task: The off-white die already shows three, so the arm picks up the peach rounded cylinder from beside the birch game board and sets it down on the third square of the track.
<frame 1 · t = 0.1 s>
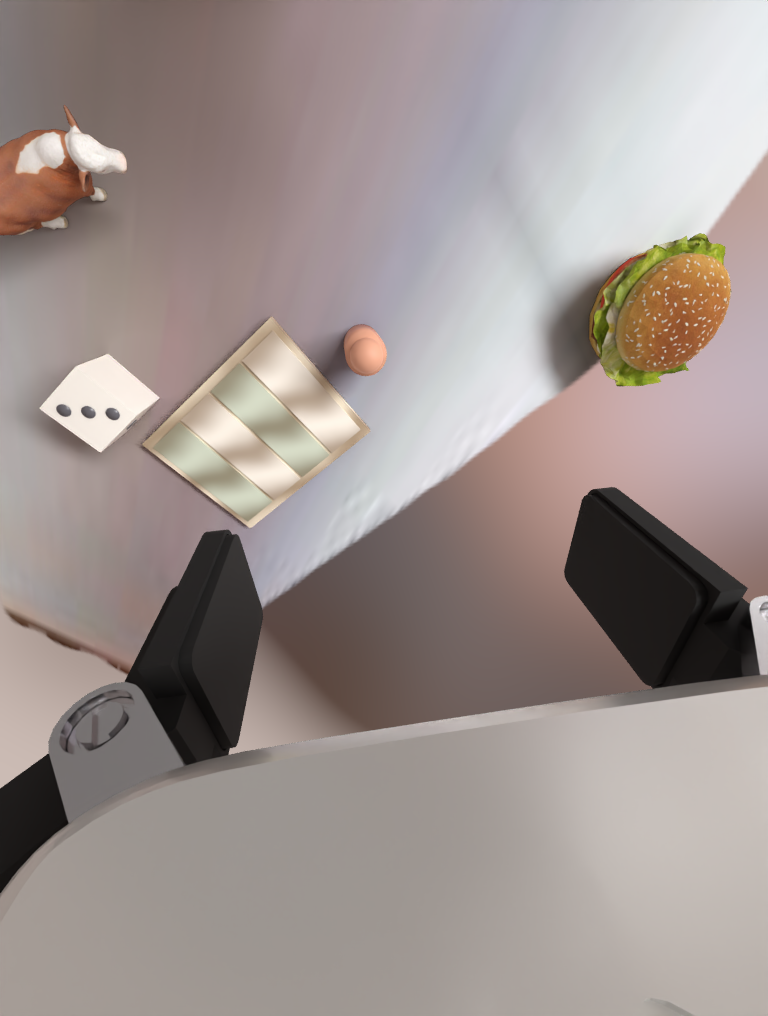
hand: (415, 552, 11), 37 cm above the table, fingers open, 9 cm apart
food: (630, 313, 44), on the table
peach rounded cylinder: (362, 344, 42), on the table
die: (118, 394, 42), on the table
game board: (260, 434, 46), on the table
bull figurine: (79, 190, 33), on the table
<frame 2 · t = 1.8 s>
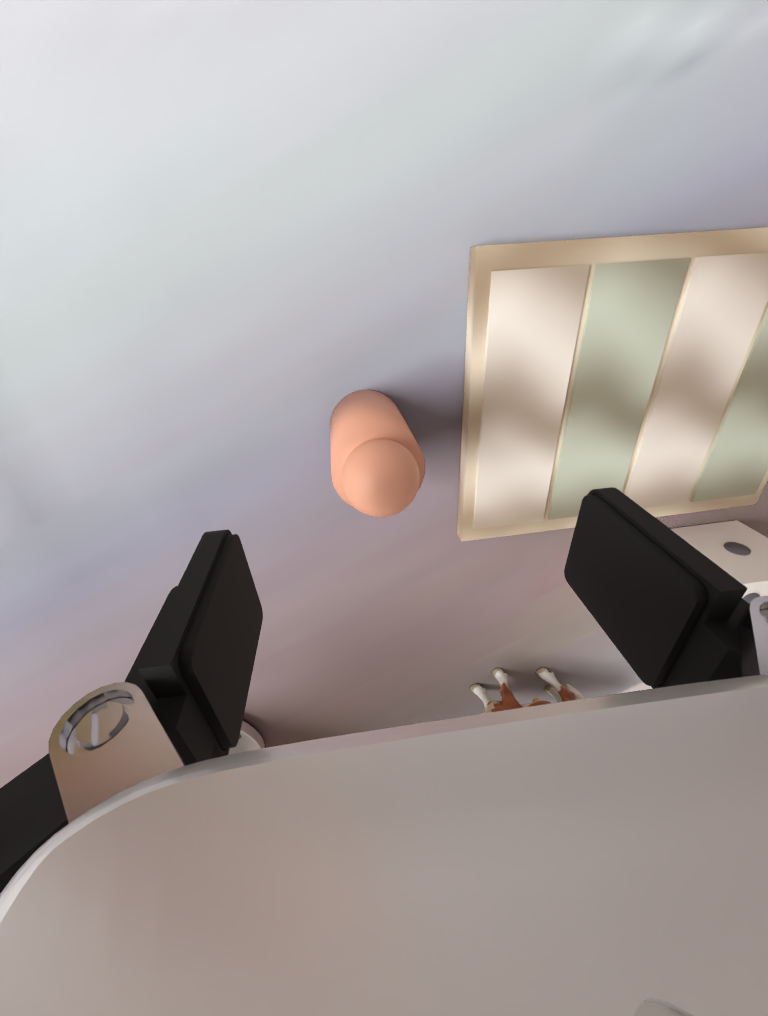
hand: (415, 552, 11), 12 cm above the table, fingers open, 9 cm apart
peach rounded cylinder: (366, 426, 21), on the table
die: (685, 557, 30), on the table
game board: (635, 399, 23), on the table
bull figurine: (507, 676, 35), on the table
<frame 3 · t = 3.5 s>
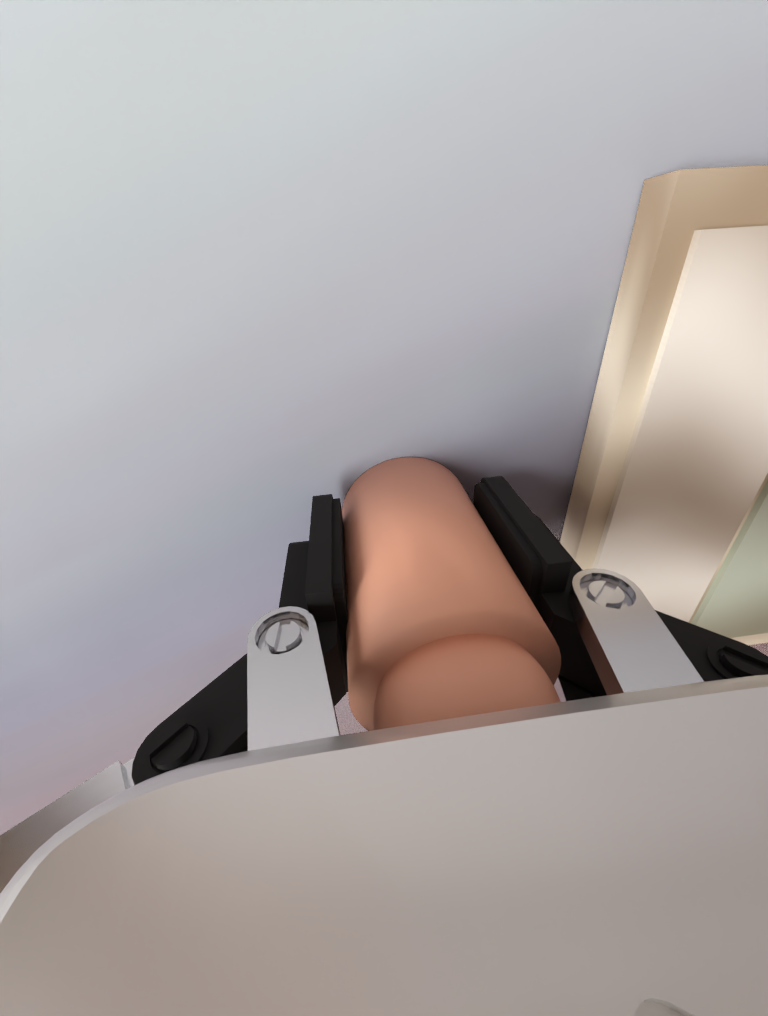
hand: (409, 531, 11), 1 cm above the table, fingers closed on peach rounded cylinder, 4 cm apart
peach rounded cylinder: (404, 514, 12), on the table, touching gripper
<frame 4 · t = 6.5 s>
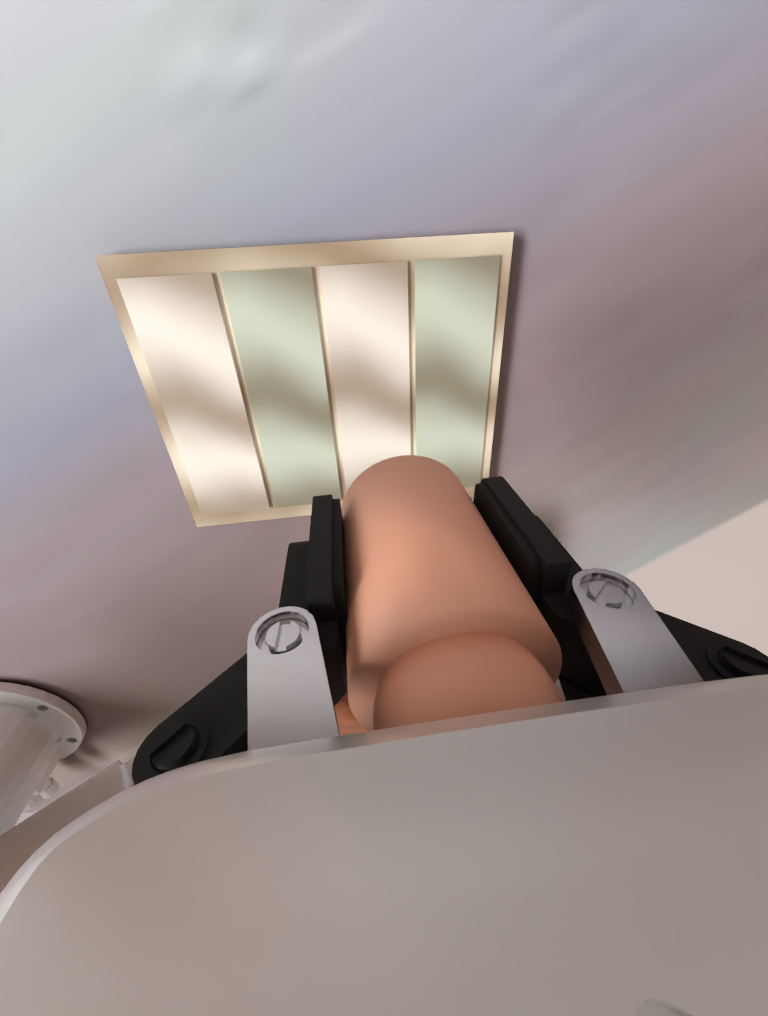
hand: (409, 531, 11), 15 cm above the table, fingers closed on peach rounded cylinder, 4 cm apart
peach rounded cylinder: (404, 513, 12), point 15 cm above the table, touching gripper
game board: (332, 396, 24), on the table
bull figurine: (312, 656, 37), on the table
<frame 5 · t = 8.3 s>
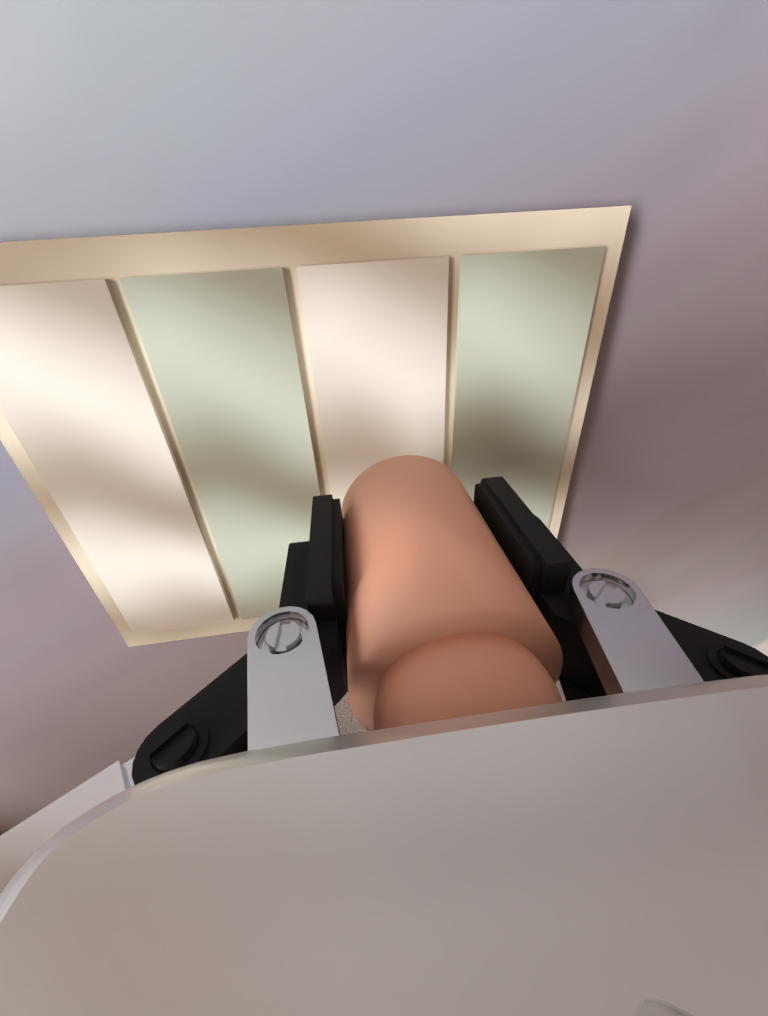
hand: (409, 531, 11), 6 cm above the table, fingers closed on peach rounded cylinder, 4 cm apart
peach rounded cylinder: (404, 513, 12), point 5 cm above the table, touching gripper
game board: (323, 465, 16), on the table
when the fingers open (3 cm above the table, at t = 9.5 s): peach rounded cylinder drops 1 cm, resting on game board.
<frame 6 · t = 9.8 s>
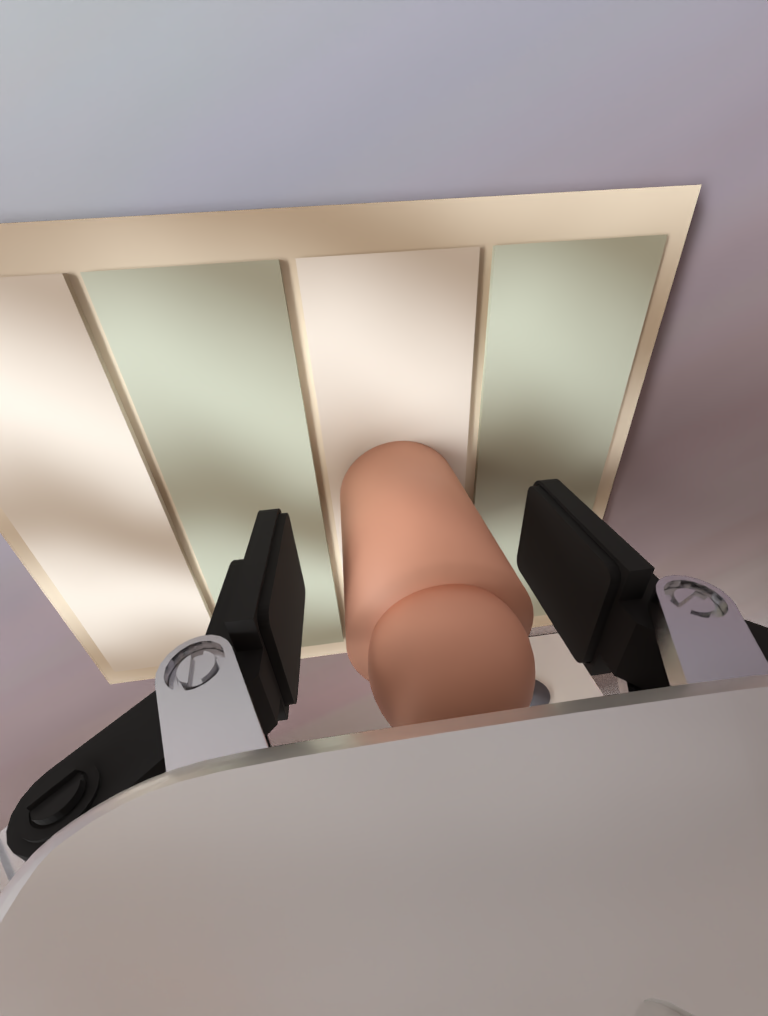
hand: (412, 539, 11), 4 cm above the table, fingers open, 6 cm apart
peach rounded cylinder: (398, 495, 13), point 1 cm above the table, touching game board
die: (501, 675, 21), on the table
game board: (326, 487, 14), on the table
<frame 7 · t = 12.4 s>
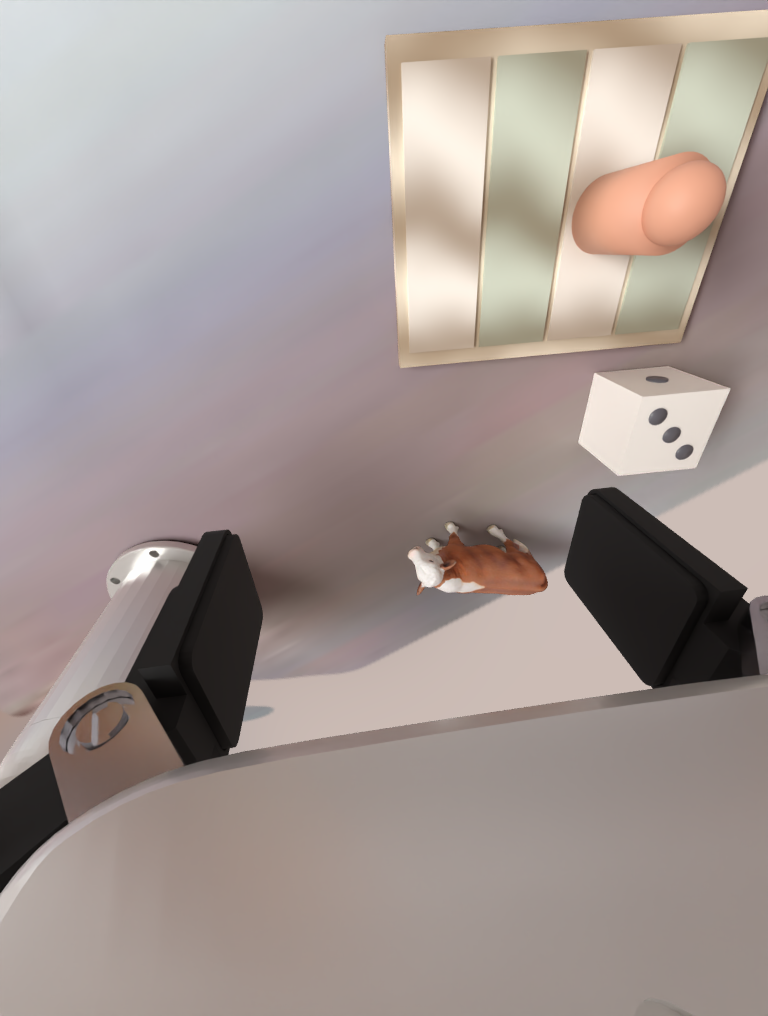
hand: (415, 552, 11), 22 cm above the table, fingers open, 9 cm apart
peach rounded cylinder: (604, 215, 24), point 1 cm above the table, touching game board
die: (621, 406, 32), on the table
game board: (555, 220, 25), on the table
bull figurine: (460, 533, 39), on the table
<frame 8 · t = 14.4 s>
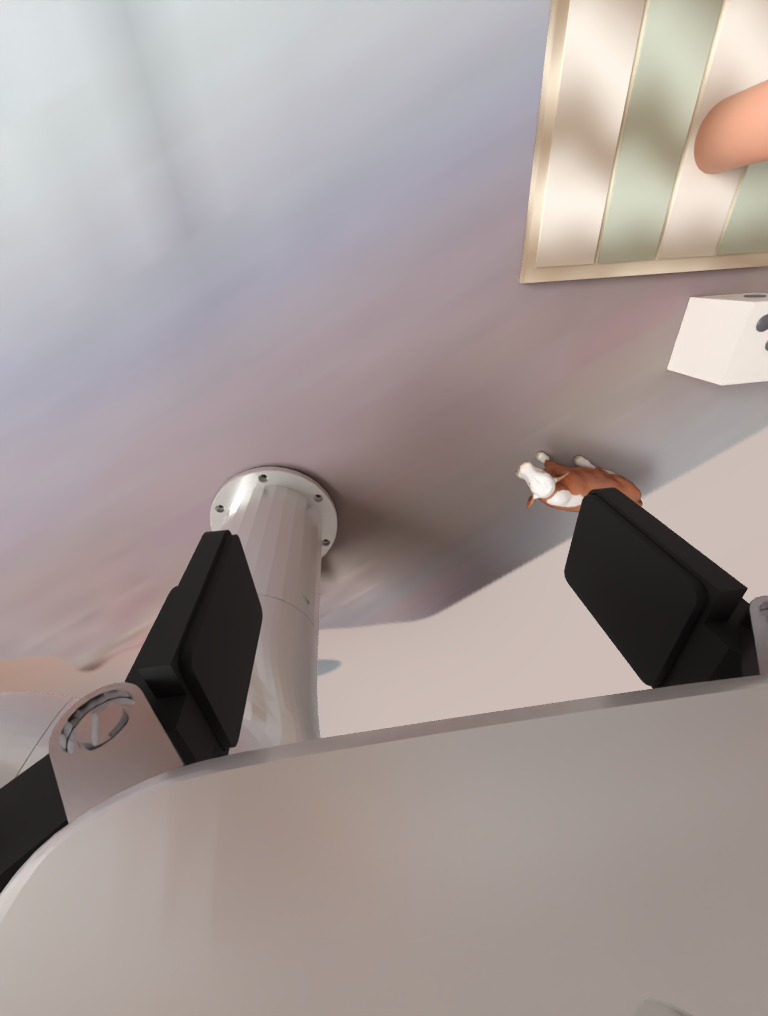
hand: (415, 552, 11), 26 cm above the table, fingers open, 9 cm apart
peach rounded cylinder: (722, 136, 27), point 1 cm above the table, touching game board
die: (708, 332, 35), on the table
game board: (675, 143, 27), on the table
bull figurine: (547, 464, 41), on the table
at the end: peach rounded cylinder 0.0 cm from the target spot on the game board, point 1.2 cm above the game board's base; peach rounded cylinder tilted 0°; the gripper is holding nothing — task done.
